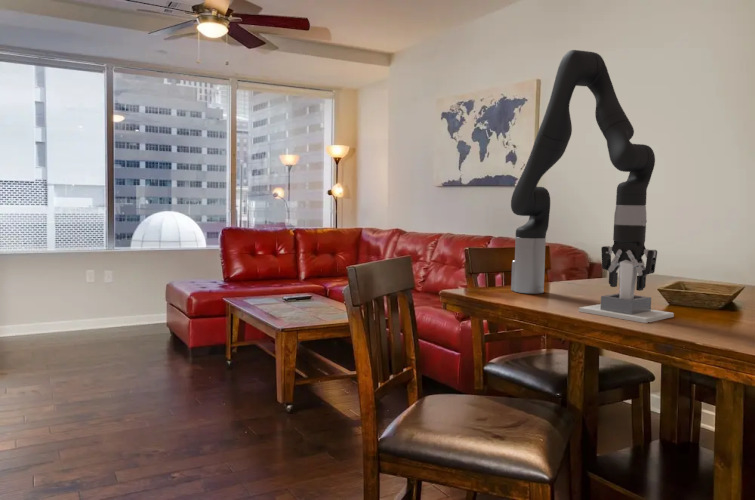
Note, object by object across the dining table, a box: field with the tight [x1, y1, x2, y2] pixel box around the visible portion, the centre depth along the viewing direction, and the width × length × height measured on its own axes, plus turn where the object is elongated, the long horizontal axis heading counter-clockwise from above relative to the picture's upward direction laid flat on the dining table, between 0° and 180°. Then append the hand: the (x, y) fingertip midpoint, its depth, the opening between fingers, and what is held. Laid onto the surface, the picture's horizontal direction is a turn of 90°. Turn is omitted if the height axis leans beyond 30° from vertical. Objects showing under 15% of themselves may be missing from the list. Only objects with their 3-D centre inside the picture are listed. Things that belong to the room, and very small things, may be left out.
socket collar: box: [600, 293, 652, 315], centre depth 153 cm, size 8×9×4 cm
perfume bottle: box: [618, 252, 638, 300], centre depth 152 cm, size 5×4×15 cm
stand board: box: [578, 303, 675, 324], centre depth 153 cm, size 18×14×1 cm
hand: (626, 288), depth 152 cm, fingers open, 6 cm apart
